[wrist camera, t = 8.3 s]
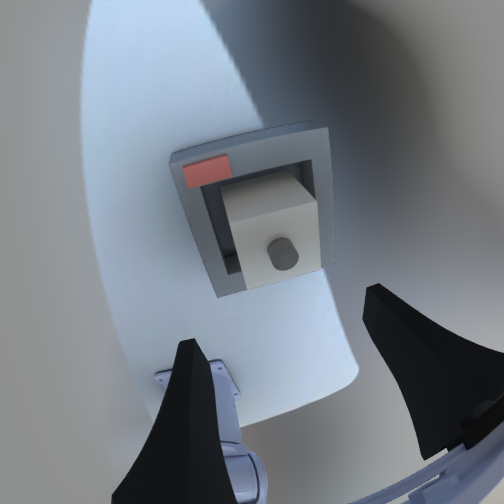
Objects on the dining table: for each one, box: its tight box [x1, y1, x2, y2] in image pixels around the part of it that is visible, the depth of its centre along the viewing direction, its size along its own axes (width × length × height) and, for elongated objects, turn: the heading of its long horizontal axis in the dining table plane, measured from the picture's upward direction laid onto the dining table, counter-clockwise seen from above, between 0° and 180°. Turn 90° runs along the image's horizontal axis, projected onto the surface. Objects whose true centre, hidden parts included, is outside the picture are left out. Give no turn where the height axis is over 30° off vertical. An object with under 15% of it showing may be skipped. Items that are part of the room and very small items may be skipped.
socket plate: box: [169, 121, 336, 298], centre depth 18 cm, size 10×9×3 cm
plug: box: [220, 170, 321, 290], centre depth 17 cm, size 4×4×6 cm
